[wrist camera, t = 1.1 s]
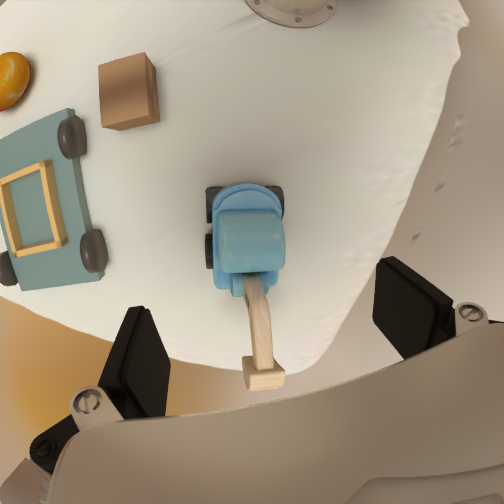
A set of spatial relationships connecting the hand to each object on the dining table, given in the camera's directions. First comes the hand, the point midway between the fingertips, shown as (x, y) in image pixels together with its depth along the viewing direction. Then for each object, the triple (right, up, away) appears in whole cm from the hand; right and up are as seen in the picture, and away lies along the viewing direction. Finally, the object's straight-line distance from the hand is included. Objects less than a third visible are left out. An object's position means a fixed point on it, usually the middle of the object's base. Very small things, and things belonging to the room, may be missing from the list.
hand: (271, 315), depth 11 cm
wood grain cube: (-14, +20, +16) cm, 30 cm away
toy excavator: (-2, +3, +24) cm, 25 cm away
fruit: (-34, +26, +11) cm, 44 cm away
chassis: (-29, +9, +18) cm, 35 cm away
